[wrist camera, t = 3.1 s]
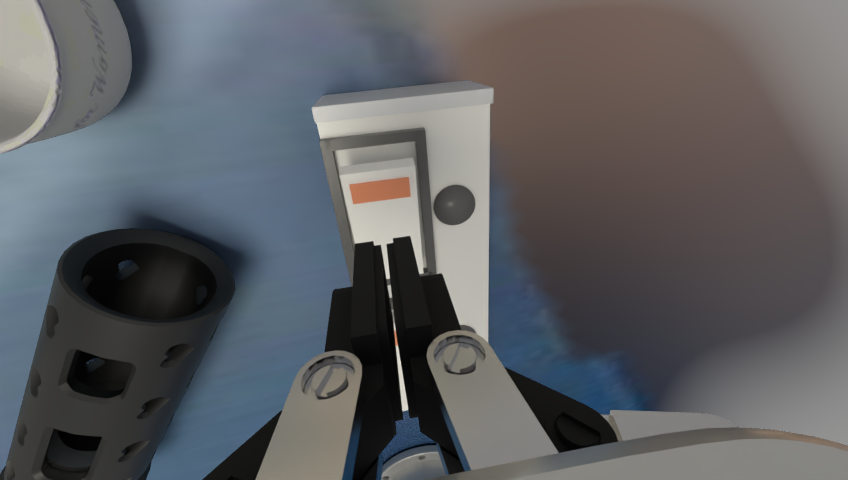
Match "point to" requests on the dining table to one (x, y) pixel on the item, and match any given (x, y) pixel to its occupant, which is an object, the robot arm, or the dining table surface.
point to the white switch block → (423, 175)
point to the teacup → (59, 67)
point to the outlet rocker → (383, 204)
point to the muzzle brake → (116, 354)
